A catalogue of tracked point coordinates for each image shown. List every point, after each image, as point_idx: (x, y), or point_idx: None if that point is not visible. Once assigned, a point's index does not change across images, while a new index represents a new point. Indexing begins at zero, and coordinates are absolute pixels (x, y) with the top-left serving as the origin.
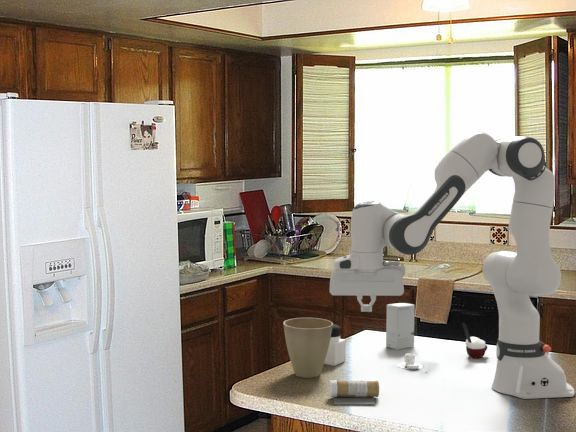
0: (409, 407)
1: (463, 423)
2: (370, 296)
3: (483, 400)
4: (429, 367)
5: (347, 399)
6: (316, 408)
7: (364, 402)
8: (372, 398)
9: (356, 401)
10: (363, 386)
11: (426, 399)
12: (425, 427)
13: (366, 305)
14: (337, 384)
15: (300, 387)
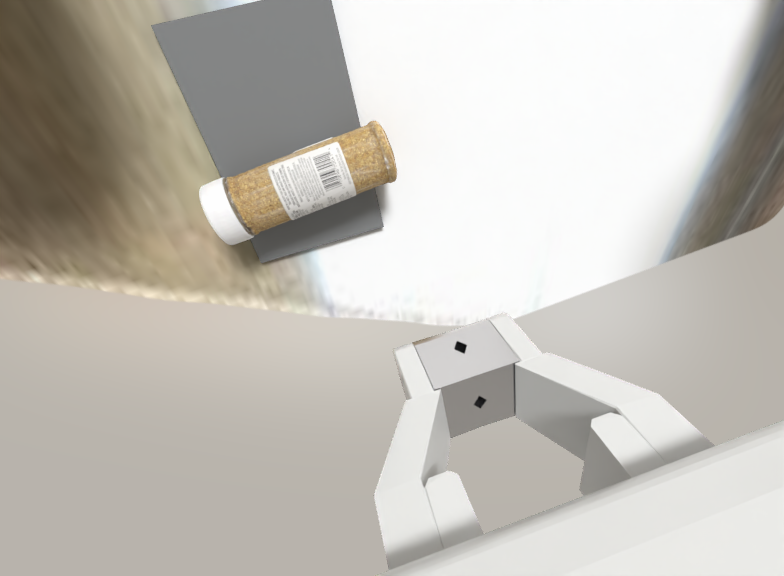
0: (476, 205)
1: (583, 273)
2: (604, 445)
3: (691, 65)
4: None
5: None
6: (223, 302)
7: (350, 224)
8: None
9: (323, 222)
10: (343, 199)
11: (530, 108)
12: None
13: (481, 421)
14: (248, 232)
15: (8, 84)
